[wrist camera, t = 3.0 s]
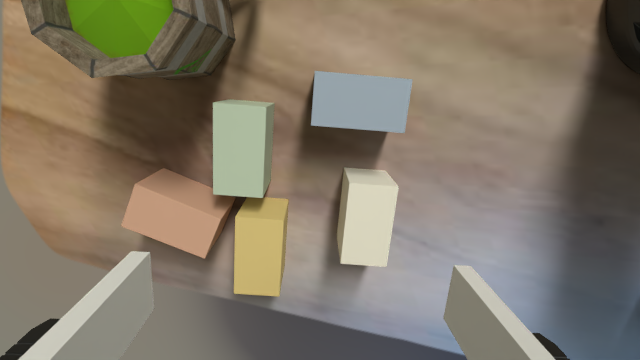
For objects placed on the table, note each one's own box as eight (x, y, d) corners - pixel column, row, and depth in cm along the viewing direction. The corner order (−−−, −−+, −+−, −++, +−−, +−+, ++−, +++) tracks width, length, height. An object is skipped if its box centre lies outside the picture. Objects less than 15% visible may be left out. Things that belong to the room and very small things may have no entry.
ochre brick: (247, 195, 37) (235, 216, 31) (288, 198, 37) (283, 220, 31) (246, 262, 39) (233, 293, 33) (284, 265, 39) (279, 296, 33)
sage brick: (230, 99, 34) (212, 102, 28) (274, 103, 34) (266, 107, 28) (229, 176, 36) (213, 194, 30) (270, 179, 36) (262, 198, 31)
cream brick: (344, 167, 36) (349, 183, 30) (385, 170, 36) (398, 186, 30) (336, 236, 38) (340, 263, 32) (375, 239, 38) (386, 266, 33)
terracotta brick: (151, 203, 37) (121, 226, 31) (164, 167, 36) (135, 183, 30) (221, 231, 38) (204, 258, 32) (235, 197, 37) (221, 219, 31)
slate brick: (311, 118, 35) (310, 125, 29) (314, 73, 33) (315, 71, 28) (389, 124, 35) (404, 132, 29) (395, 79, 34) (412, 79, 28)
